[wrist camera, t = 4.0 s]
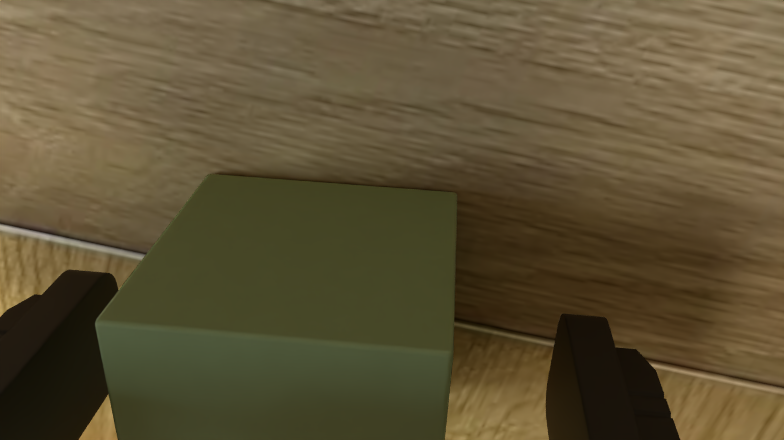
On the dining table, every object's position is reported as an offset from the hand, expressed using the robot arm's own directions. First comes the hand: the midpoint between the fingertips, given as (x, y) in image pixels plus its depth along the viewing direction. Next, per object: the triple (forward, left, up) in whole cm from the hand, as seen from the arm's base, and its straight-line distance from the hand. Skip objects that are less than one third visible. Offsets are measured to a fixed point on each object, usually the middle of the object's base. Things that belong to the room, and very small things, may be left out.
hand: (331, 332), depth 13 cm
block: (0, 0, -1) cm, 2 cm away
